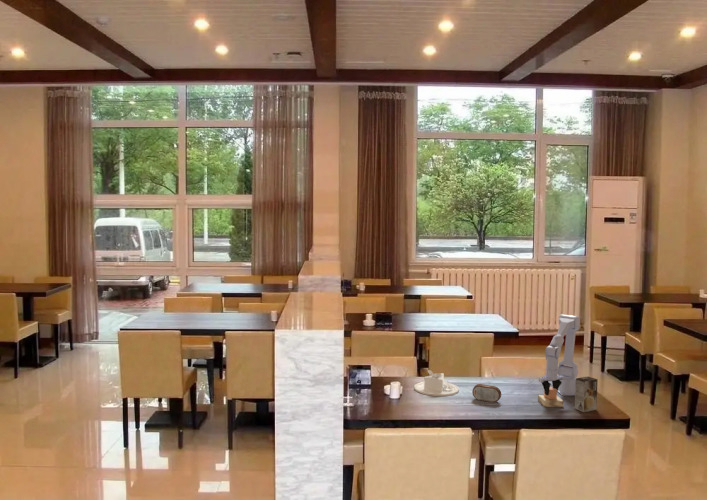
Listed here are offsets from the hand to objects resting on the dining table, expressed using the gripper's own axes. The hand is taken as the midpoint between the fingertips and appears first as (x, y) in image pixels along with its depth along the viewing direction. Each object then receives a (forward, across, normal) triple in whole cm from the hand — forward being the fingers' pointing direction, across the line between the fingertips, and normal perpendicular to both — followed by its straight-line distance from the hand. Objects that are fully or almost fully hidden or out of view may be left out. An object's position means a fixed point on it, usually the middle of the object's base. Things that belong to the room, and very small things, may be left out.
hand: (550, 394), depth 338 cm
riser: (+5, 0, 0) cm, 5 cm away
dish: (+6, +45, -41) cm, 61 cm away
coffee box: (+5, -11, +13) cm, 18 cm away
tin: (+5, +30, -14) cm, 34 cm away
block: (+2, 0, 0) cm, 2 cm away
